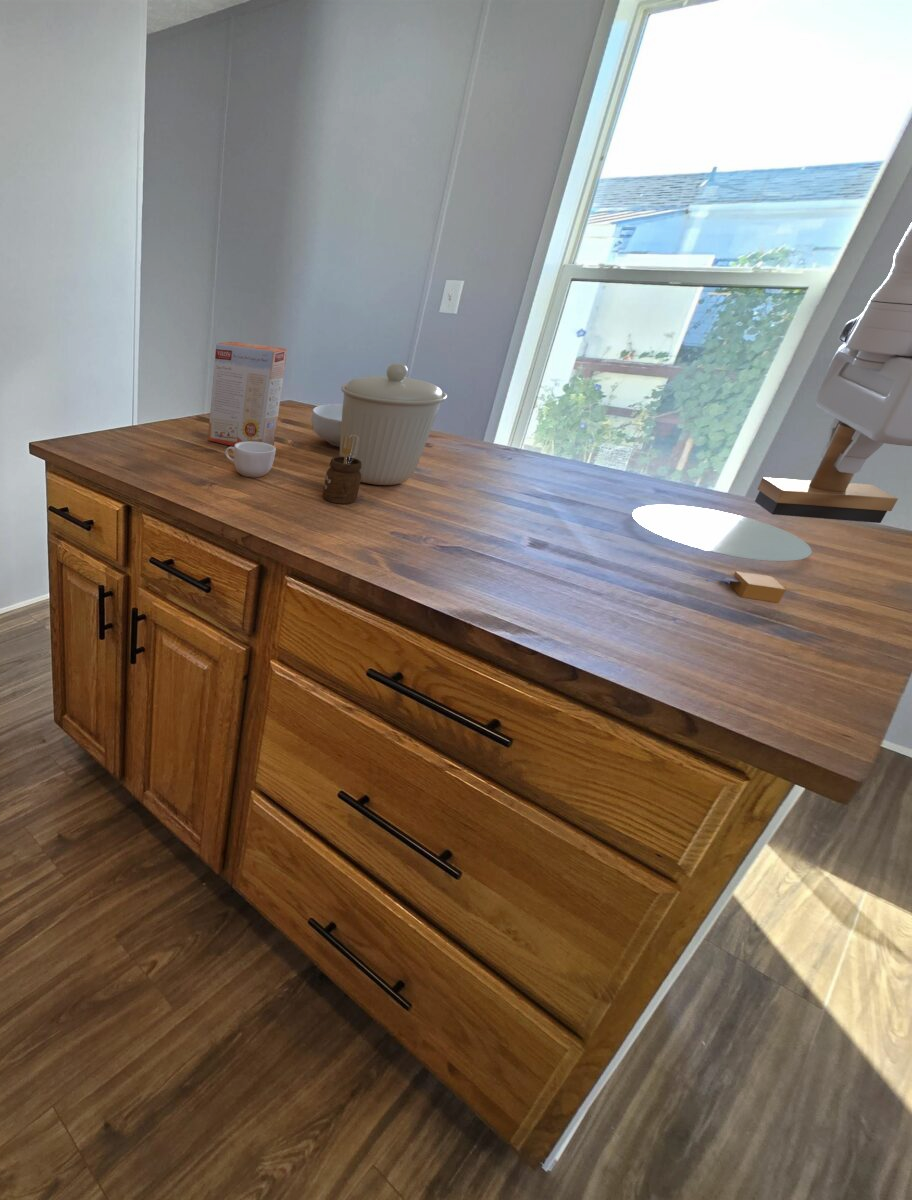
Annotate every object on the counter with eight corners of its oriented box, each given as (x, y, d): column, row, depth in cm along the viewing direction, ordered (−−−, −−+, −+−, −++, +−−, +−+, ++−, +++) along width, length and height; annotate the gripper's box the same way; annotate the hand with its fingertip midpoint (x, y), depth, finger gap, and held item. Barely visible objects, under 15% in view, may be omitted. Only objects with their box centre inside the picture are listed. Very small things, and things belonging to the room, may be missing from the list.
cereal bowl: (292, 442, 148) (297, 410, 144) (332, 429, 158) (338, 400, 154) (361, 459, 137) (368, 426, 133) (399, 445, 147) (407, 413, 143)
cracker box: (274, 448, 143) (289, 347, 133) (259, 454, 139) (273, 350, 129) (222, 436, 151) (231, 339, 141) (206, 441, 147) (215, 342, 137)
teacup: (278, 473, 128) (282, 446, 126) (262, 483, 123) (265, 455, 120) (232, 463, 133) (235, 437, 131) (214, 472, 128) (217, 445, 125)
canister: (337, 457, 138) (357, 352, 127) (429, 472, 130) (458, 361, 120) (315, 482, 124) (335, 366, 114) (416, 500, 116) (448, 377, 106)
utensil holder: (359, 496, 117) (373, 430, 112) (352, 507, 113) (367, 438, 107) (325, 490, 120) (337, 425, 114) (318, 501, 115) (330, 433, 109)
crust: (764, 589, 88) (771, 576, 88) (778, 602, 85) (786, 589, 84) (728, 584, 90) (735, 571, 89) (741, 597, 86) (748, 584, 85)
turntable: (783, 530, 107) (788, 521, 106) (828, 583, 90) (834, 574, 89) (622, 504, 116) (625, 496, 116) (635, 548, 100) (639, 539, 99)
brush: (770, 515, 76) (811, 428, 71) (751, 501, 80) (789, 418, 75) (884, 524, 73) (935, 434, 68) (858, 508, 77) (904, 423, 72)
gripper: (1013, 350, 58) (915, 498, 65) (914, 327, 73) (844, 448, 80) (913, 344, 60) (830, 487, 67) (838, 323, 76) (777, 440, 83)
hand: (837, 465), depth 74 cm, fingers closed on brush, 3 cm apart
